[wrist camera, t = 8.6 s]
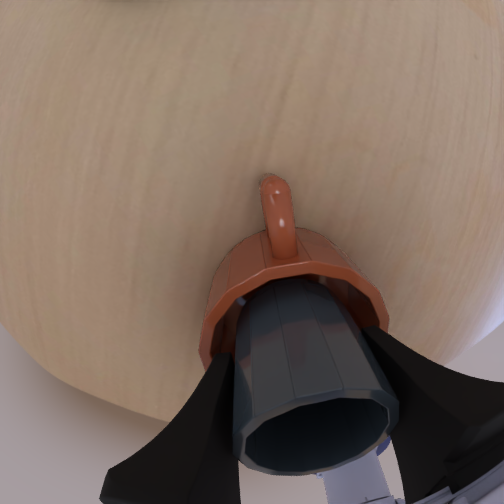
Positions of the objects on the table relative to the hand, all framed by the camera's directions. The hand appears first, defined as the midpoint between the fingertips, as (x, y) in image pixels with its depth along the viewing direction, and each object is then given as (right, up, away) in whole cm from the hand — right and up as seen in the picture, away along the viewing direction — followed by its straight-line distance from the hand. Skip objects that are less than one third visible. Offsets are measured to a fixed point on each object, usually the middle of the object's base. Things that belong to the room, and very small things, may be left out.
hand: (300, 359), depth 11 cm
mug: (0, +3, +5) cm, 6 cm away
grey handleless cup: (0, +1, +2) cm, 2 cm away
